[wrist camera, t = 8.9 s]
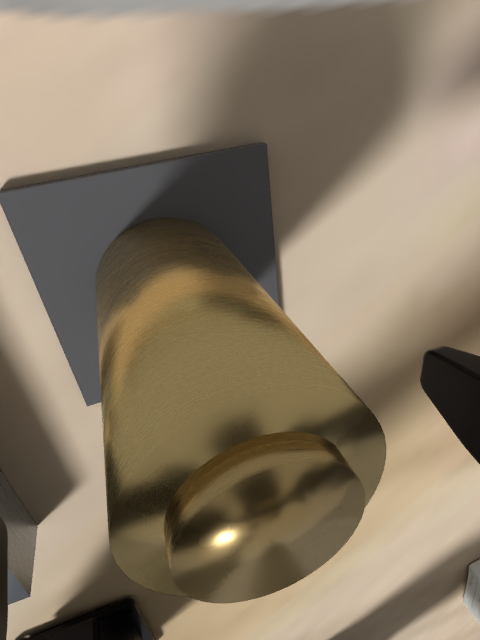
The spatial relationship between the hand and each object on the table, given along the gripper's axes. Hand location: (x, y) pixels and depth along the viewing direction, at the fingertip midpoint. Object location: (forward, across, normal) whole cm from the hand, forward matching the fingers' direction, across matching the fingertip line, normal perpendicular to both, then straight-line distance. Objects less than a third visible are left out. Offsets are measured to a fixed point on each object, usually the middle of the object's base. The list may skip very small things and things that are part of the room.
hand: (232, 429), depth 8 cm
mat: (+8, 0, 0) cm, 8 cm away
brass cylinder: (+7, 0, 0) cm, 7 cm away
